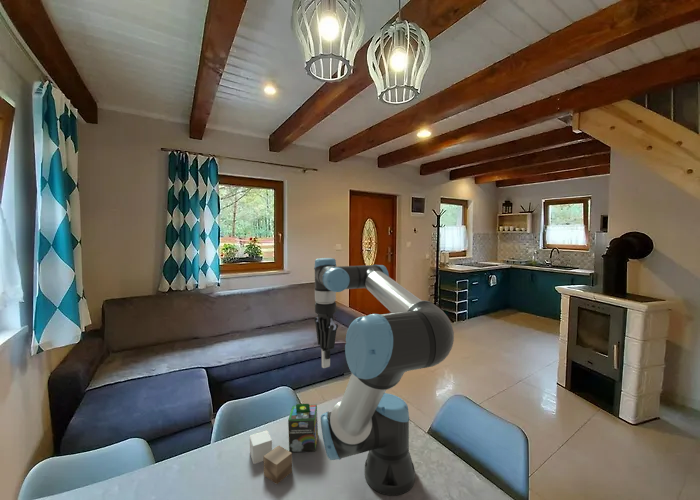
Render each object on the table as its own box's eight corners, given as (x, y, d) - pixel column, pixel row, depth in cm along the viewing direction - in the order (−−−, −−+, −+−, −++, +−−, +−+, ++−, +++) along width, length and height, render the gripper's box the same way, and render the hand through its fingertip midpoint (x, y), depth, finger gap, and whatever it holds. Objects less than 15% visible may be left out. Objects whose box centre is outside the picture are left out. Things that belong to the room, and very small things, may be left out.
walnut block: (292, 472, 92) (291, 453, 92) (276, 484, 87) (276, 464, 87) (279, 463, 96) (278, 445, 96) (263, 475, 91) (263, 456, 91)
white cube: (272, 457, 98) (271, 440, 98) (253, 464, 95) (253, 446, 95) (267, 446, 104) (267, 429, 103) (249, 452, 101) (249, 435, 101)
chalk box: (318, 434, 110) (317, 395, 109) (315, 452, 101) (315, 409, 100) (292, 435, 110) (292, 395, 109) (288, 452, 100) (287, 409, 100)
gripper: (344, 303, 103) (344, 370, 104) (325, 297, 114) (325, 358, 115) (325, 306, 99) (326, 376, 100) (307, 299, 109) (308, 362, 110)
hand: (325, 366), depth 107 cm, fingers closed
